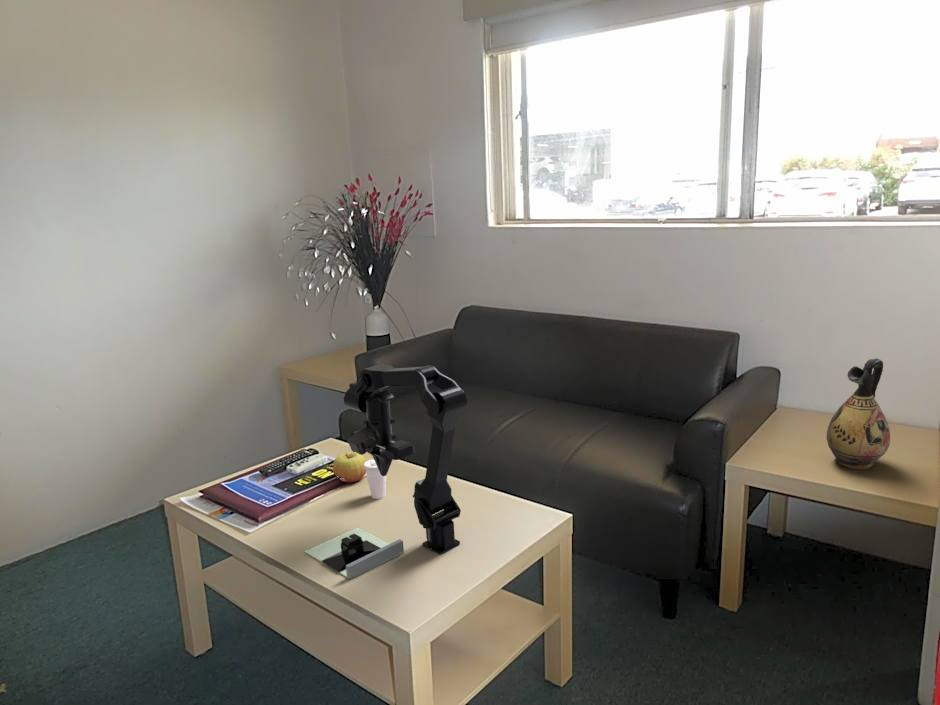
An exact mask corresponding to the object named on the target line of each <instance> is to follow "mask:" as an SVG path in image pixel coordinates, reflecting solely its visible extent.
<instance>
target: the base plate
mask: <svg viewBox="0 0 940 705" xmlns="http://www.w3.org/2000/svg"><path fill="white" fill-rule="evenodd" d="M352 534H356V535H358V536H360V537H361V538H362V540H363V541H365V540H367V541H369V542H371V543H372V544H374V545H376V546H378V547H380V549H378V550H376V551H374V552H372V553H370V554H368V555H366V556H364V557H362V558H360V559H358V560H356V561H354V562H352V563H350V564H348V565H346V570H344V571H342V572H337V573H338V574H340V575H341V576H343V577H345V578H346V579H347V580H350V581H351V580H352V579H355V578H357V577H359V576H360V575H363V574H365V573H367V572H368V571H370V570H373V569H374V568H376V567H378V566H380V565H382V564H384V563H386V562H388V561H391V560H392V559H394V558H396V557H398V556H400V555H403V554H404V553H405V548H404V541H403V540H402V539H399V538H398V539H396V540H394V541H393V542H391V543H388V542H387V541H384V540H382V539H381V538H378V537H377V536H374V535H373V534H370V533H369V532H367V531H365V530H363V529H361V528H359V527H356V528H354V529H352V530H349V531H347V532H344V533H342V534H340V535H338V536H335V537H332V538H331V539H329V540H327V541H324V542H322V543H320V544H317V545H316V546H314V547H313V546H312V547H311V548H309V549H307V550H305V551H304V553H305V554H307V555H309V556H310V557H312V558H314V559H315V560H317V561H318V562H320V563H321V564H324V563H323V562H322V560H324V559H326V558H328V557H330V556H333V555H335V554H337V553H339V552H341V543H342V542H341V539H343V538H345V537H348V538H349V536H350V535H352ZM350 539H351V538H350ZM324 565H325V566H327V565H326V564H324ZM327 567H329V566H327ZM329 568H330V569H332V568H331V567H329ZM332 570H333V571H335V570H334V569H332Z"/></svg>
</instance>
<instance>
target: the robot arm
mask: <svg viewBox="0 0 940 705" xmlns="http://www.w3.org/2000/svg"><path fill="white" fill-rule="evenodd" d="M430 384H432V385H433V386H435V387H436V388H438V389H440V390H438V391H434V392H431V391H430V389H429V388H428V385H430ZM403 386H406V387H408V386H415V388H417V390H418V394H419V400H420V402H421V403H422V404H423V405H424V406H425V407H426V409H427V416H428V419H429V420H430V423H431V425H432V428H431V429H432V430H431V434H430V435H431V436H430V443H429V447H428V448H429V450H428V456H427V463H426V470H425V477H424V478H423V479H421V480H418V481H416V482H415V484H414V492H413V494H412V498H413V499H414V500H413V505H414V509H415V513H416V515H417V520H418V524H420V525H421V526H422V528H423V529H425V533H426V534H425V535H426V536H425V537H426V541H423V542H422V545H421V546H423V547H425V548H426V549H429V550H431V551H432V552H435V553H437V554H439V555H441V554H444V553H445V552H447V551H449V550H451V549H453V548H454V547H455V548H456V546H458V545H460V544H461V541H460V540H458V539H455V538H456V537H455V522H454V521H453V520H454V519H456V518H459V517H460V515H461V512H462V510H461V508H460V507H459V505H458V504H457V501H456V500H455V498H454V497H453V495H452V486H450V484H449V482H448V474H449V469H450V462H451V461H450V460H451V455H452V448H453V442H454V435H455V429H456V427H457V425H458V424H459V423H460V422H461V420H462V418H463V417H464V415H465V412H466V410H467V406H468V397H467V394H466V393H465V391H464V390H463V389H462V388H461V387H460V386H459V385H458V383H457V382H456V381H455V380H453V378H450V377H448V376H446V375H445V374H443V373H441V372H440V371H439V370H438V369H437V368H436V367H435V366H434V365H429V364H428V365H425V366H415V367H414V366H412V367H398V368H397V367H393V366H392V364H385V363H382V364H378V365H374V366H371V367H366V368H362V369H360V371H359V376H358V378H357V380H356V381H355V382H351V383H349V388H348V389H347V390H346V392H345V394H344V397H343V402H344V405H345V407H347V408H348V409H351V410H354V411H358V412H360V413H364V414H365V413H366V420H364V421H363V423H362V428H361V429H358V430H356V431H355V430H354V431H352V433H351V434H350V436H349V438H348V439H347V443H348V445H349V447H350V450H351V452H356V453H358V454H360V455H362V456H363V455H365V454H366V453H368V455H370V456H372V458H373V459H374V460H375V462H376V465H377V467H378V469H379V472H380V474H381V476H386V477H387V475H388V472H389V471H390V470H389V469H390V467H391V465H392V462H393V461H398V460H401V459H403V458H407V457H408V456H411V455H414V454H415V445H414V444H413V443H411V442H410V441H406V440H403V439H400V440H397V441H394V440H395V439H396V438H397V434H395V433H393V429H392V425H393V424H395V418H394V417H393V418H392V417H391V405H390V401H394V400H395V396H394V395H393V394H392V393H391V392H390V391H389V389H387V390H384V391H380V390H381V389H382V390H383V389H385V388H388V387H403Z"/></svg>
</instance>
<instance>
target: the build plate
mask: <svg viewBox="0 0 940 705" xmlns="http://www.w3.org/2000/svg"><path fill="white" fill-rule="evenodd" d="M350 538H351V539H350ZM341 542H342V543H341V552H339V553H337V554H335V555H333V556H330V557H328V558H326V559H324V560H322V562H323V563H324V565H325V564H326V565H325V566H327V567H328V566H329V568H330V567H331V568H330V569H332V570H333V569H334V570H333V571H335V572H337V573H338V572H342V571H344V570H346V565H348V564H350V563H352V562H354V561H356V560H358V559H360V558H362V557H364V556H366V555H368V554H370V553H372V552H374V551H376V550H378V549H380V547H378V546H376V545H374V544H372V543H371V542H369V541H367V540H365V541H363V540H362V538H361V537H360V536H358V535H356V534H352V535H350V536H349V538H348V537H345V538H343V539H341ZM322 562H321V563H322ZM323 563H322V564H323Z"/></svg>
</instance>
